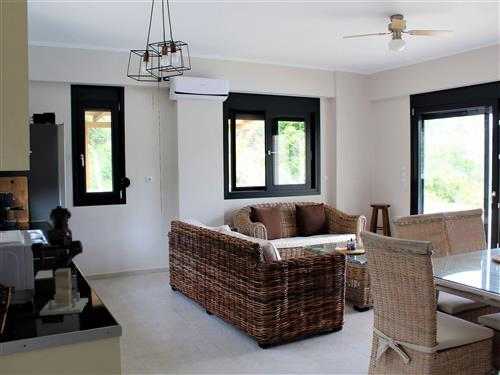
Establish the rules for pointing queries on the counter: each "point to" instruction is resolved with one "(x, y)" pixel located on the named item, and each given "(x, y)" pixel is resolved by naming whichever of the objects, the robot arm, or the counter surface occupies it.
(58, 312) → the base plate
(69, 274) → the maple block
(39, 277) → the phone case
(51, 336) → the counter surface
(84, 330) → the counter surface
